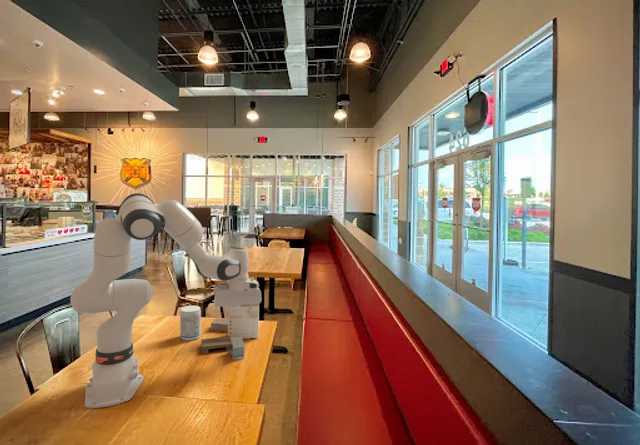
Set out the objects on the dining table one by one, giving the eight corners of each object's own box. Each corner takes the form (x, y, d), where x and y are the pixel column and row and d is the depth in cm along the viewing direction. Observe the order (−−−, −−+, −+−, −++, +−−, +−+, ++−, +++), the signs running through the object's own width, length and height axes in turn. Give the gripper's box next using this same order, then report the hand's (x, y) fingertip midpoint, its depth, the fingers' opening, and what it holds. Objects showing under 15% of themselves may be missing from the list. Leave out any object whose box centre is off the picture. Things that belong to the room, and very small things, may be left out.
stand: (232, 349, 162) (232, 343, 162) (202, 353, 157) (202, 347, 157) (229, 342, 170) (229, 336, 170) (201, 345, 166) (201, 339, 165)
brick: (246, 327, 191) (246, 318, 190) (241, 333, 182) (241, 324, 182) (216, 325, 192) (216, 317, 191) (210, 331, 183) (210, 322, 183)
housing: (244, 358, 154) (244, 344, 154) (232, 360, 152) (232, 345, 152) (241, 350, 163) (241, 336, 162) (229, 351, 161) (230, 337, 160)
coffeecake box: (258, 333, 182) (259, 296, 181) (258, 338, 175) (258, 300, 174) (229, 333, 180) (229, 296, 179) (227, 339, 173) (227, 300, 172)
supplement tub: (182, 333, 179) (182, 305, 178) (202, 333, 180) (202, 304, 179) (178, 341, 169) (178, 311, 168) (198, 340, 171) (198, 311, 170)
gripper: (214, 287, 148) (213, 319, 149) (262, 284, 155) (262, 314, 156) (213, 283, 154) (212, 314, 155) (259, 280, 161) (259, 310, 162)
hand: (238, 314), depth 155 cm, fingers open, 8 cm apart
